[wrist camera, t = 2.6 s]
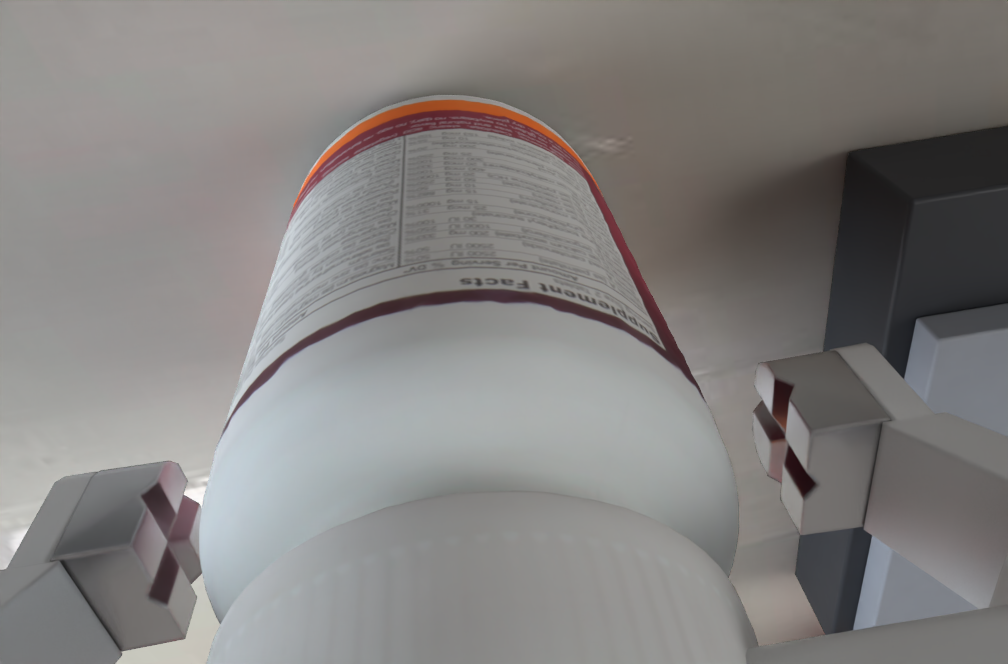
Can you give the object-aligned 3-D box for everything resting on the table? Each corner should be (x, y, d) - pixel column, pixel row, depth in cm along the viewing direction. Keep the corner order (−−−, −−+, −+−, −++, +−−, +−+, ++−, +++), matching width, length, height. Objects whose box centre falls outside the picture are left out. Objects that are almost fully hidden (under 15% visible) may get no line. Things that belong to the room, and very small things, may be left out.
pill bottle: (564, 374, 18) (733, 1003, 8) (286, 348, 17) (123, 1041, 7) (638, 110, 14) (1051, 660, 5) (298, 56, 13) (29, 632, 4)
